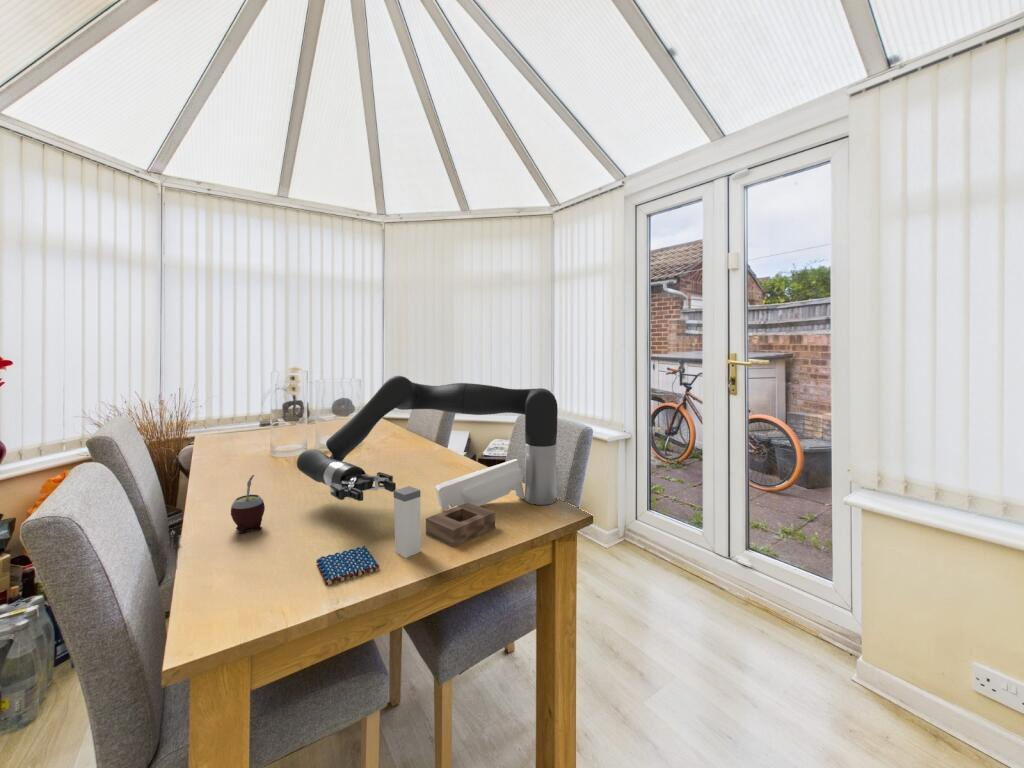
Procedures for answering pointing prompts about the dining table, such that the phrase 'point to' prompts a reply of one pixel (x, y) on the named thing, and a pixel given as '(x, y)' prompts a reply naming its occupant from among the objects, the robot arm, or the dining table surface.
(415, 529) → the grey-capped white post
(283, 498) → the dining table surface
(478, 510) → the brown square socket block
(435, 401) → the robot arm
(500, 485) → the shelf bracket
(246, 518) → the mate gourd
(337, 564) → the woven mat
